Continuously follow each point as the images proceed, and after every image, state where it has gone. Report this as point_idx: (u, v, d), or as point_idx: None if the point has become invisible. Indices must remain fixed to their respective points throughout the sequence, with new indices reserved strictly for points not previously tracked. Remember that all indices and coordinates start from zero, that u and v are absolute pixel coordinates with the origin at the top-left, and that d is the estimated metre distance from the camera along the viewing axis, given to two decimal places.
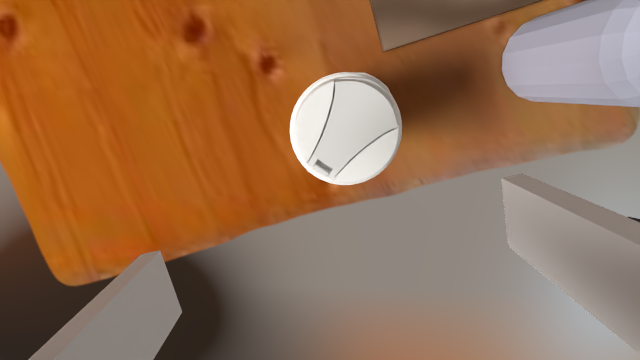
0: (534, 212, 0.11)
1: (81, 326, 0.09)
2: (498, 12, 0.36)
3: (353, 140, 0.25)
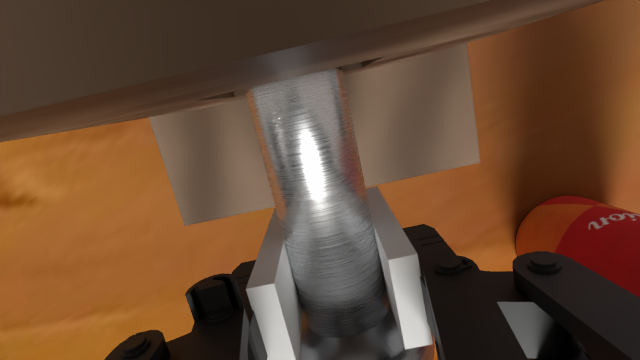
0: None
1: (278, 249, 0.11)
2: None
3: None
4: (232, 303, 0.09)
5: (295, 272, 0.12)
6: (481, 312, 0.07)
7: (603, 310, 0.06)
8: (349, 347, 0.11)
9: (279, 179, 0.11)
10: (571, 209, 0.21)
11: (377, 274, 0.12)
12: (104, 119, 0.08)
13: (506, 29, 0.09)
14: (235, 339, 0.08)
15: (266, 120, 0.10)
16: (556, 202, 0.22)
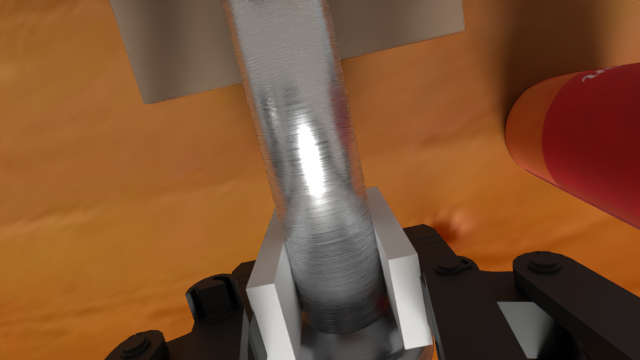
0: None
1: (277, 249, 0.11)
2: None
3: None
4: (232, 303, 0.09)
5: (294, 268, 0.12)
6: (481, 312, 0.07)
7: (603, 310, 0.06)
8: (348, 343, 0.11)
9: (278, 174, 0.10)
10: (564, 77, 0.19)
11: (376, 270, 0.12)
12: None
13: None
14: (235, 339, 0.08)
15: (265, 115, 0.10)
16: (548, 79, 0.20)
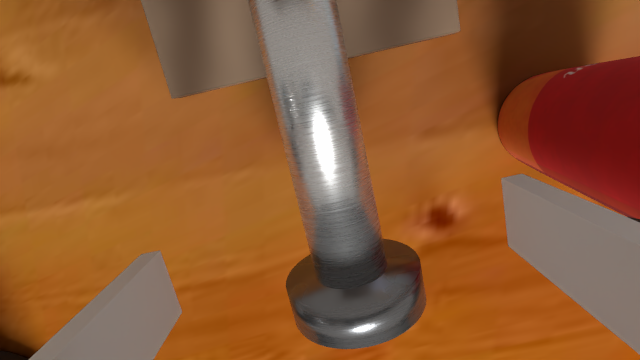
0: (534, 212, 0.11)
1: (81, 326, 0.09)
2: None
3: None
4: None
5: (308, 234, 0.14)
6: None
7: None
8: (353, 294, 0.13)
9: (296, 154, 0.13)
10: (550, 74, 0.21)
11: (377, 236, 0.14)
12: None
13: None
14: None
15: (286, 105, 0.12)
16: (537, 76, 0.22)
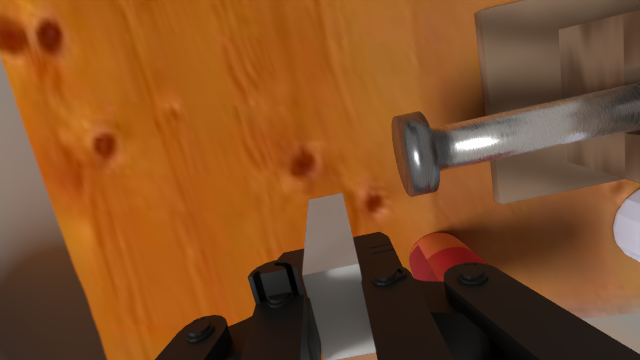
0: None
1: (324, 238, 0.11)
2: (622, 178, 0.35)
3: None
4: (292, 289, 0.09)
5: (458, 127, 0.24)
6: (414, 320, 0.07)
7: (525, 319, 0.06)
8: None
9: (510, 122, 0.23)
10: None
11: (454, 167, 0.24)
12: None
13: None
14: (296, 326, 0.08)
15: (538, 117, 0.23)
16: None
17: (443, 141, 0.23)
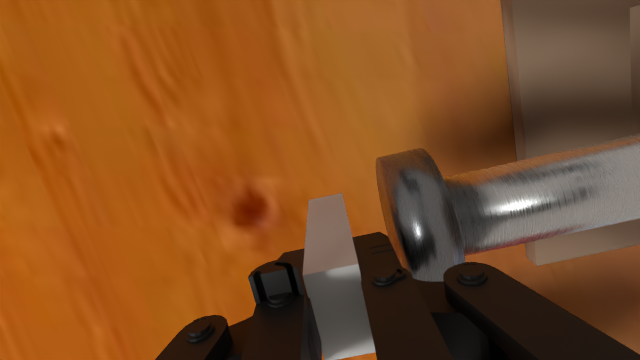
0: None
1: (324, 238, 0.11)
2: None
3: None
4: (292, 289, 0.09)
5: (498, 180, 0.13)
6: (414, 320, 0.07)
7: (524, 319, 0.06)
8: None
9: (599, 170, 0.12)
10: None
11: (488, 250, 0.13)
12: None
13: None
14: (296, 326, 0.08)
15: None
16: None
17: (470, 208, 0.12)
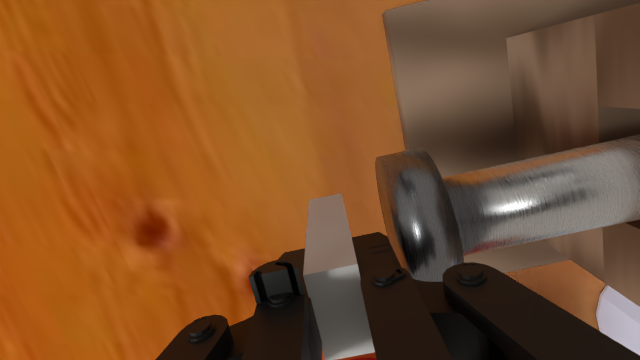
0: None
1: (325, 238, 0.11)
2: None
3: None
4: (293, 289, 0.09)
5: (497, 180, 0.13)
6: (413, 321, 0.07)
7: (523, 319, 0.06)
8: None
9: (598, 170, 0.12)
10: None
11: (488, 250, 0.13)
12: None
13: None
14: (297, 326, 0.08)
15: None
16: None
17: (469, 208, 0.12)
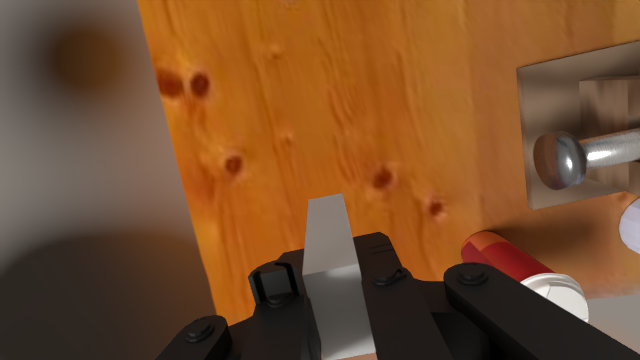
0: None
1: (324, 238, 0.11)
2: None
3: None
4: (292, 289, 0.09)
5: (593, 142, 0.34)
6: (414, 320, 0.07)
7: (525, 319, 0.06)
8: None
9: (630, 138, 0.34)
10: None
11: (588, 169, 0.35)
12: None
13: None
14: (296, 326, 0.08)
15: None
16: None
17: (584, 152, 0.34)
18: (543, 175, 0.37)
